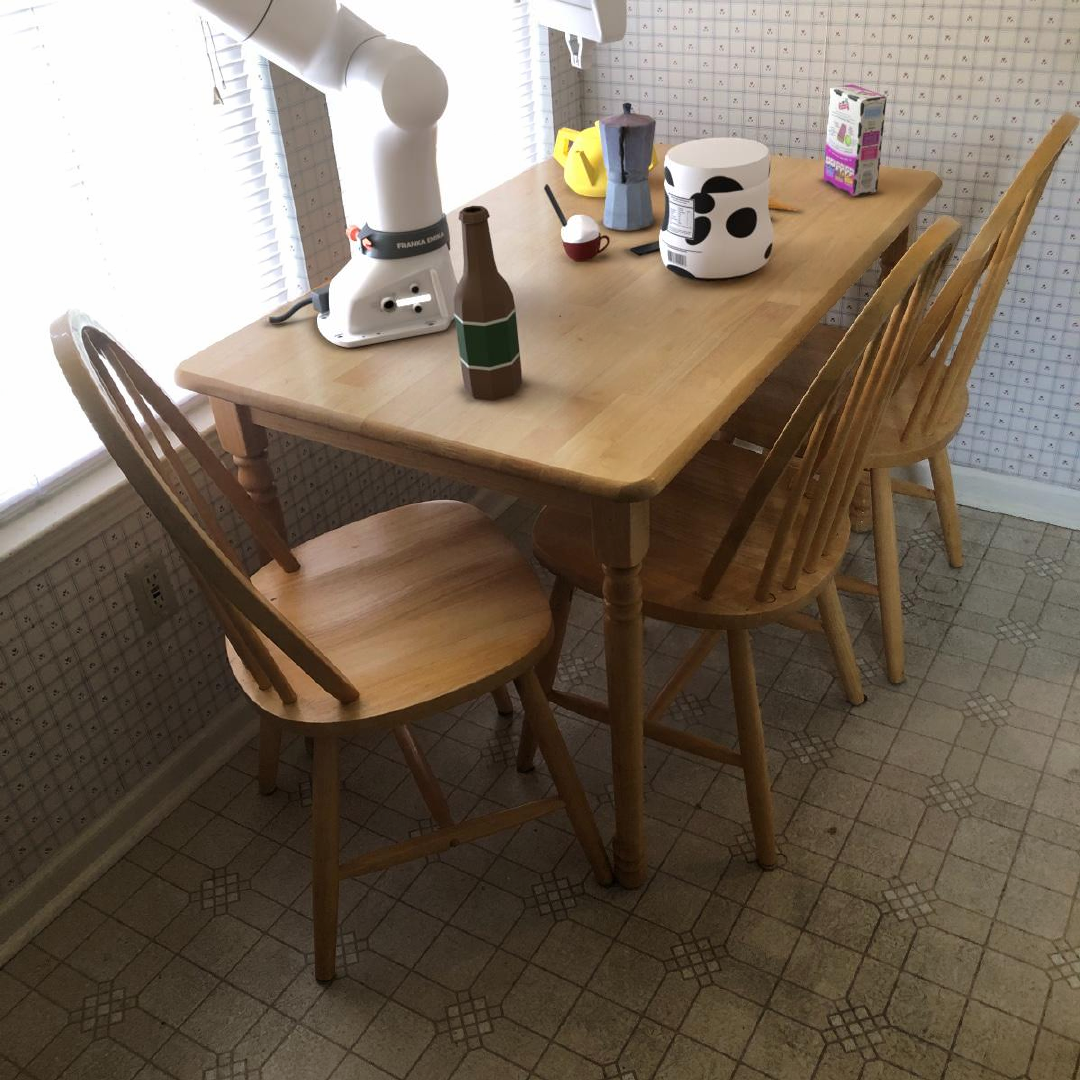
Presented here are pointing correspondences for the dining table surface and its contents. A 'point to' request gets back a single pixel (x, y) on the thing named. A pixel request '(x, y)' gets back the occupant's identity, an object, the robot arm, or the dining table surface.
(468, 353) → the beer bottle
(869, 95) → the candy bar box
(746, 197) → the milk container
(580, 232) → the cocoa
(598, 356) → the dining table surface
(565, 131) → the teapot
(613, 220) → the moka pot
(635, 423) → the dining table surface
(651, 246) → the ruler
